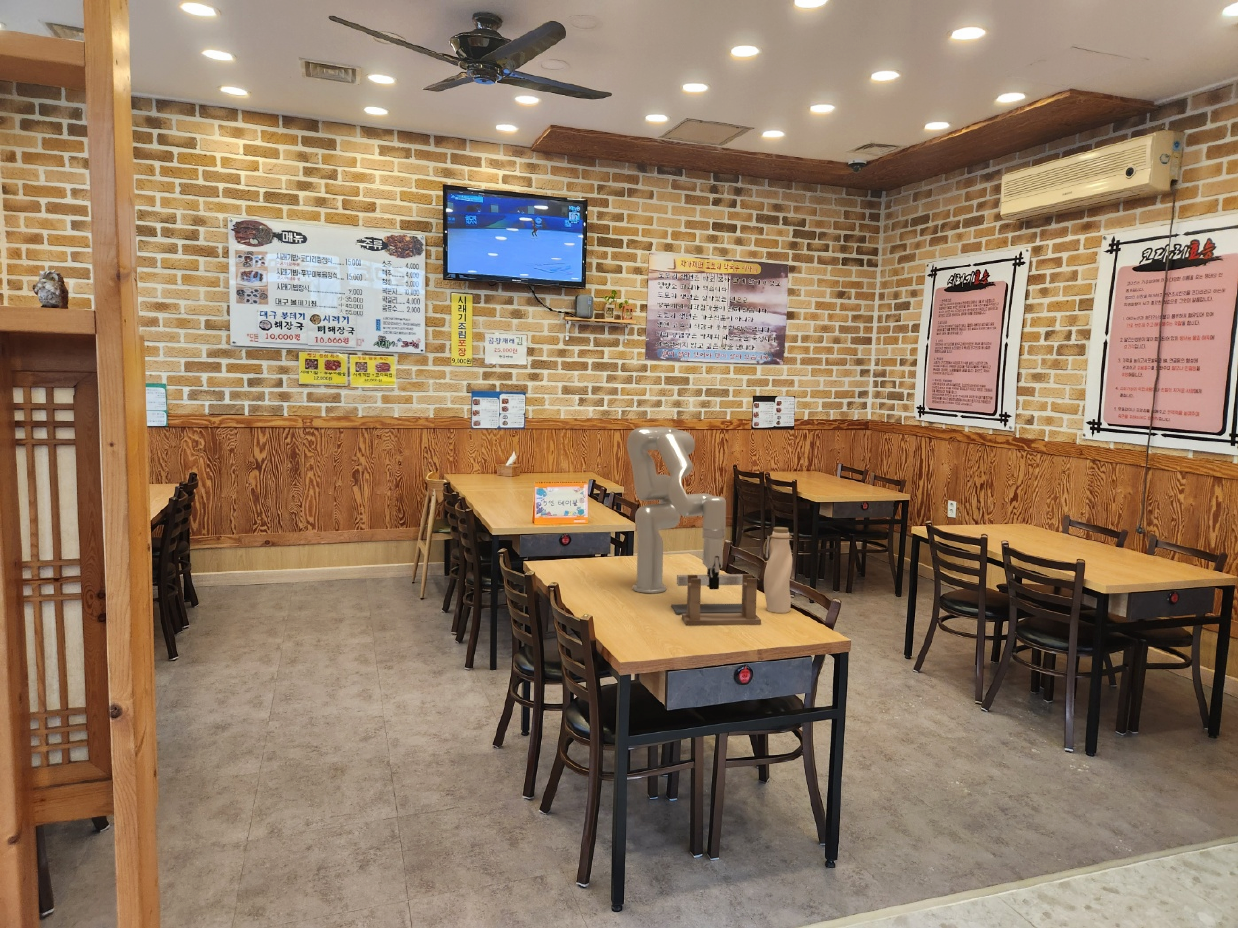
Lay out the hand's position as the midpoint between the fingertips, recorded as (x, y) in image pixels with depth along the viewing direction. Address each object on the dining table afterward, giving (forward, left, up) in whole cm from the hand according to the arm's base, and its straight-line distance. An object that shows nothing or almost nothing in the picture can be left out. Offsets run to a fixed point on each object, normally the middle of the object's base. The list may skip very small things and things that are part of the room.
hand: (712, 587), depth 265 cm
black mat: (0, 0, -8) cm, 8 cm away
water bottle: (+1, +22, -8) cm, 23 cm away
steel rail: (0, 0, +1) cm, 1 cm away
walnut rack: (+13, 0, -8) cm, 15 cm away
